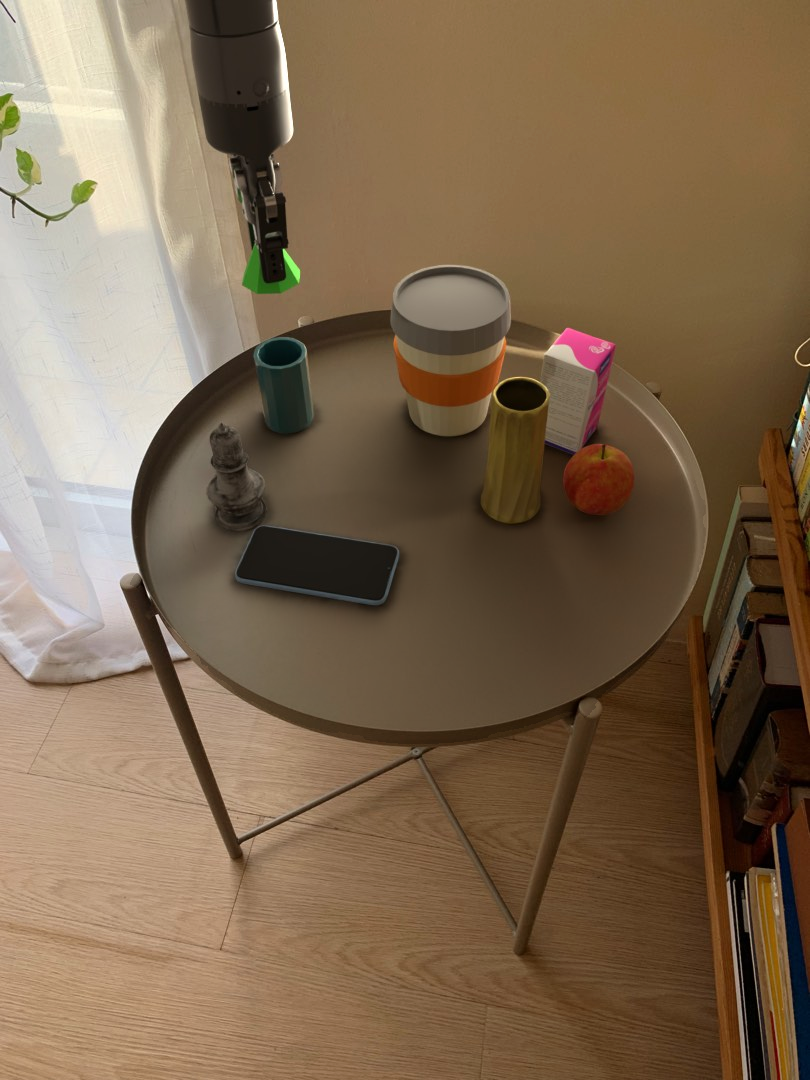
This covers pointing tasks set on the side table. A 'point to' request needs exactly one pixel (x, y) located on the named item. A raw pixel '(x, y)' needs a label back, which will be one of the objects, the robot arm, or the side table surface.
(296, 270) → the gemstone
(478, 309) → the reusable coffee cup
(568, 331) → the supplement box
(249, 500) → the chess piece
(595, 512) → the fruit
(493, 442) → the vase
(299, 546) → the smartphone
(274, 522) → the side table surface
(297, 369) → the teal cup
